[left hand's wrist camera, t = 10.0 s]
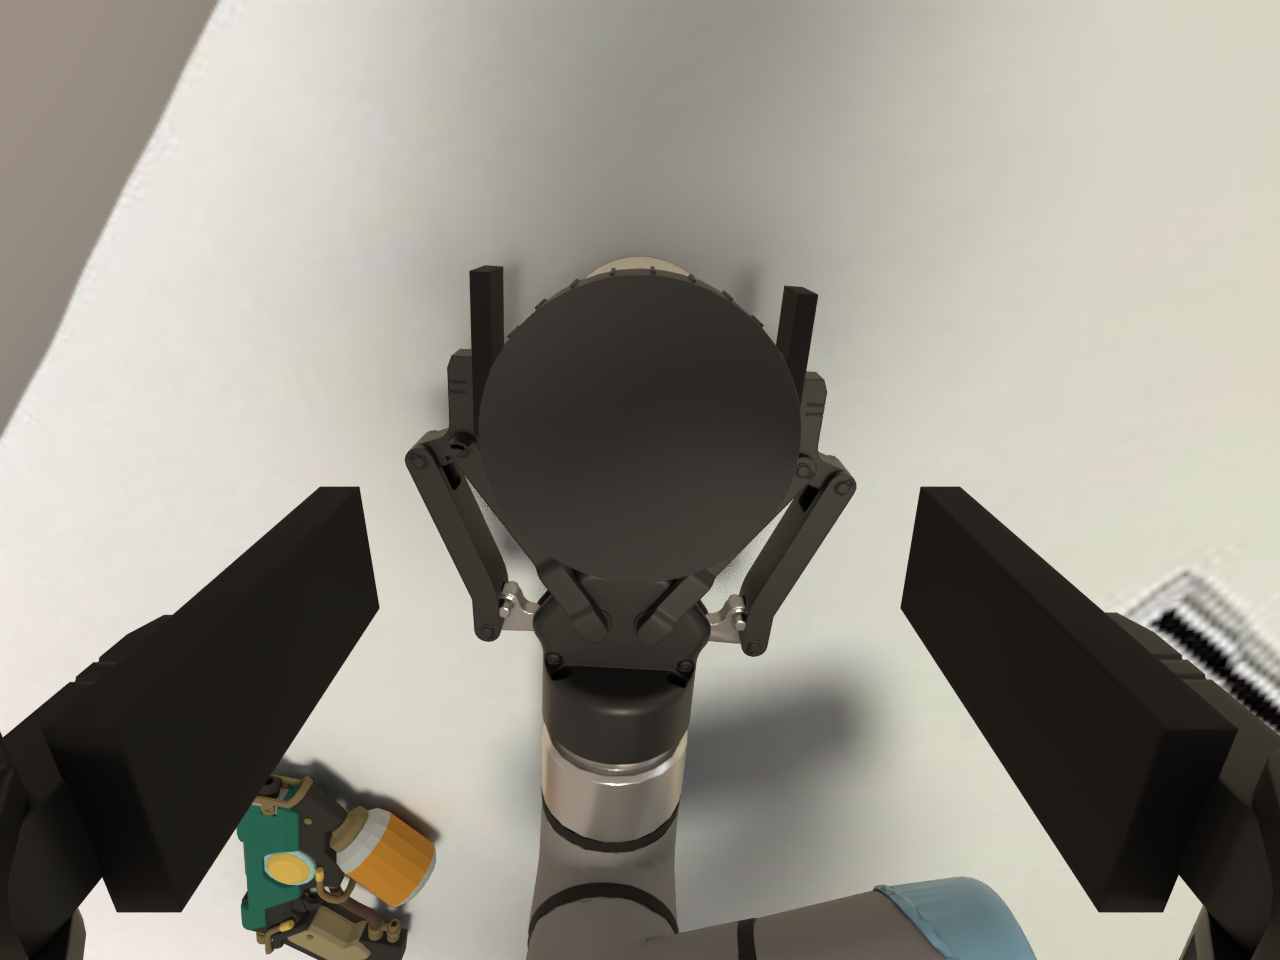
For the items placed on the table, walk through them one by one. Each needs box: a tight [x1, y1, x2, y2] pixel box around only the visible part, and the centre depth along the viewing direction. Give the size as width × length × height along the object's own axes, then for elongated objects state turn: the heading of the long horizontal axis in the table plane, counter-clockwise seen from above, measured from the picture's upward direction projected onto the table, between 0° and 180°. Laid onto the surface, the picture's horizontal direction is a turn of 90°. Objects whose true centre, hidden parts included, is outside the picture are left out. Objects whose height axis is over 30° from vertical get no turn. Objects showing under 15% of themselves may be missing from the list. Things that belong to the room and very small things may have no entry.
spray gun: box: [237, 774, 436, 960], centre depth 46 cm, size 4×17×15 cm
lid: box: [479, 266, 801, 583], centre depth 21 cm, size 9×10×2 cm
